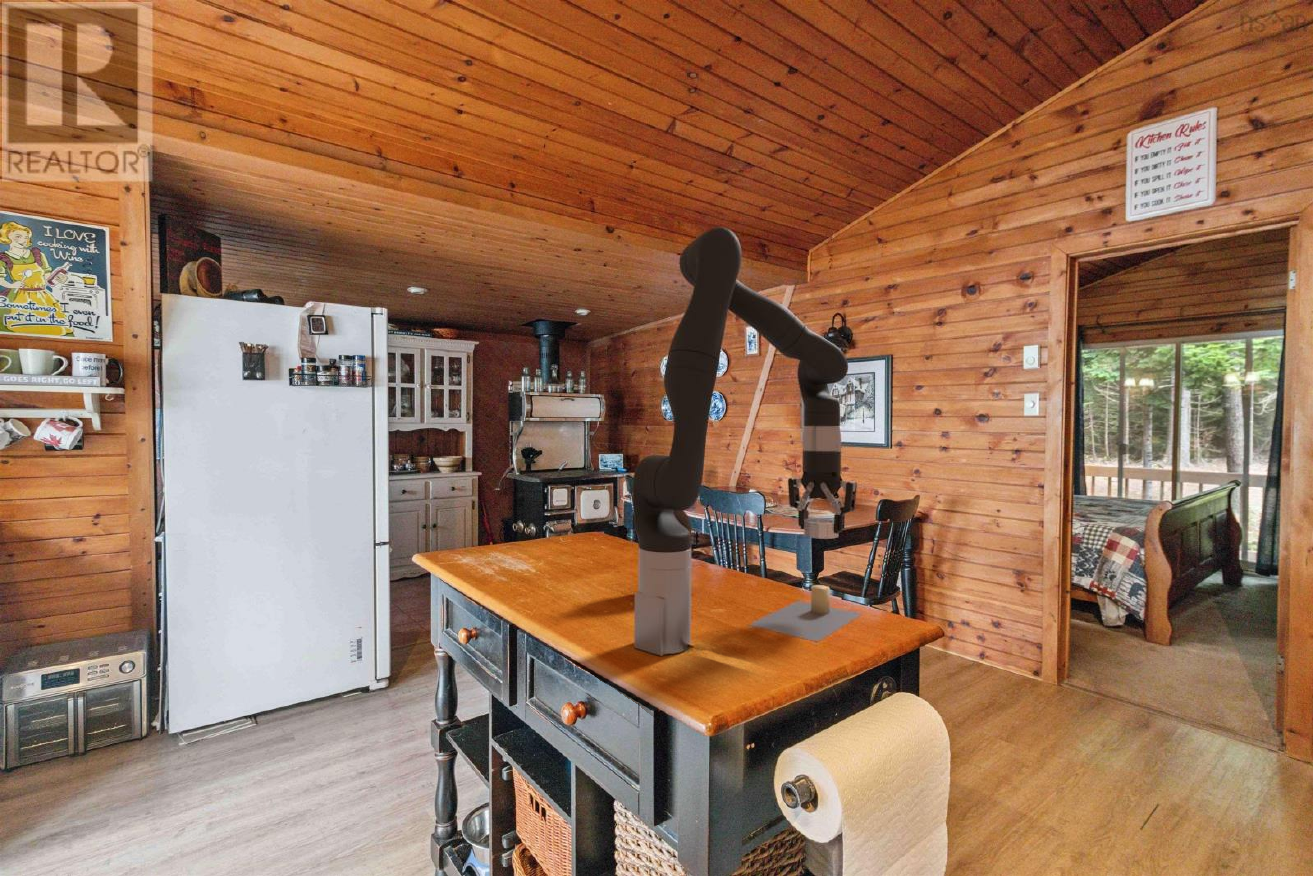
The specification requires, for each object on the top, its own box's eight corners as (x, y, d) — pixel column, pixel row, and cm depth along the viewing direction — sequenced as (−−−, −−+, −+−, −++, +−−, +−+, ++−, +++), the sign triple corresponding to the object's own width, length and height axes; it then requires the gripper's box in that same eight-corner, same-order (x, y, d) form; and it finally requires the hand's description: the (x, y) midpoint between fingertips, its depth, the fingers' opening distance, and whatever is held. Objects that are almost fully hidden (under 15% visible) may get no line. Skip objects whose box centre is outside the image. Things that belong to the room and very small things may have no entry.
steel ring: (829, 540, 118) (829, 524, 118) (798, 536, 122) (798, 521, 122) (843, 535, 123) (843, 520, 123) (812, 531, 127) (812, 517, 127)
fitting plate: (817, 647, 105) (817, 613, 105) (747, 630, 114) (748, 598, 114) (862, 618, 122) (862, 588, 121) (798, 605, 130) (798, 577, 130)
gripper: (780, 448, 124) (780, 529, 124) (849, 450, 114) (848, 537, 115) (797, 447, 129) (796, 524, 130) (863, 449, 120) (863, 532, 121)
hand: (821, 530), depth 122 cm, fingers closed on steel ring, 6 cm apart
